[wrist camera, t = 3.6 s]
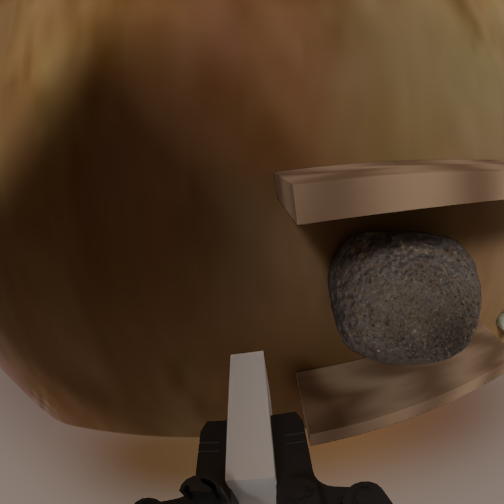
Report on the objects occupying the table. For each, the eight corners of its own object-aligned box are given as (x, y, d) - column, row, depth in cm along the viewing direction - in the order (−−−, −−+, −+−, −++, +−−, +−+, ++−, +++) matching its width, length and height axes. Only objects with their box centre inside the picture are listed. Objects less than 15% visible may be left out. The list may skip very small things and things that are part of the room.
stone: (315, 307, 23) (398, 393, 19) (286, 288, 16) (411, 419, 11) (394, 221, 23) (478, 299, 18) (399, 165, 15) (524, 275, 11)
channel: (296, 385, 21) (310, 445, 16) (273, 172, 16) (292, 184, 10) (475, 333, 21) (510, 369, 16) (497, 160, 16) (553, 172, 10)
